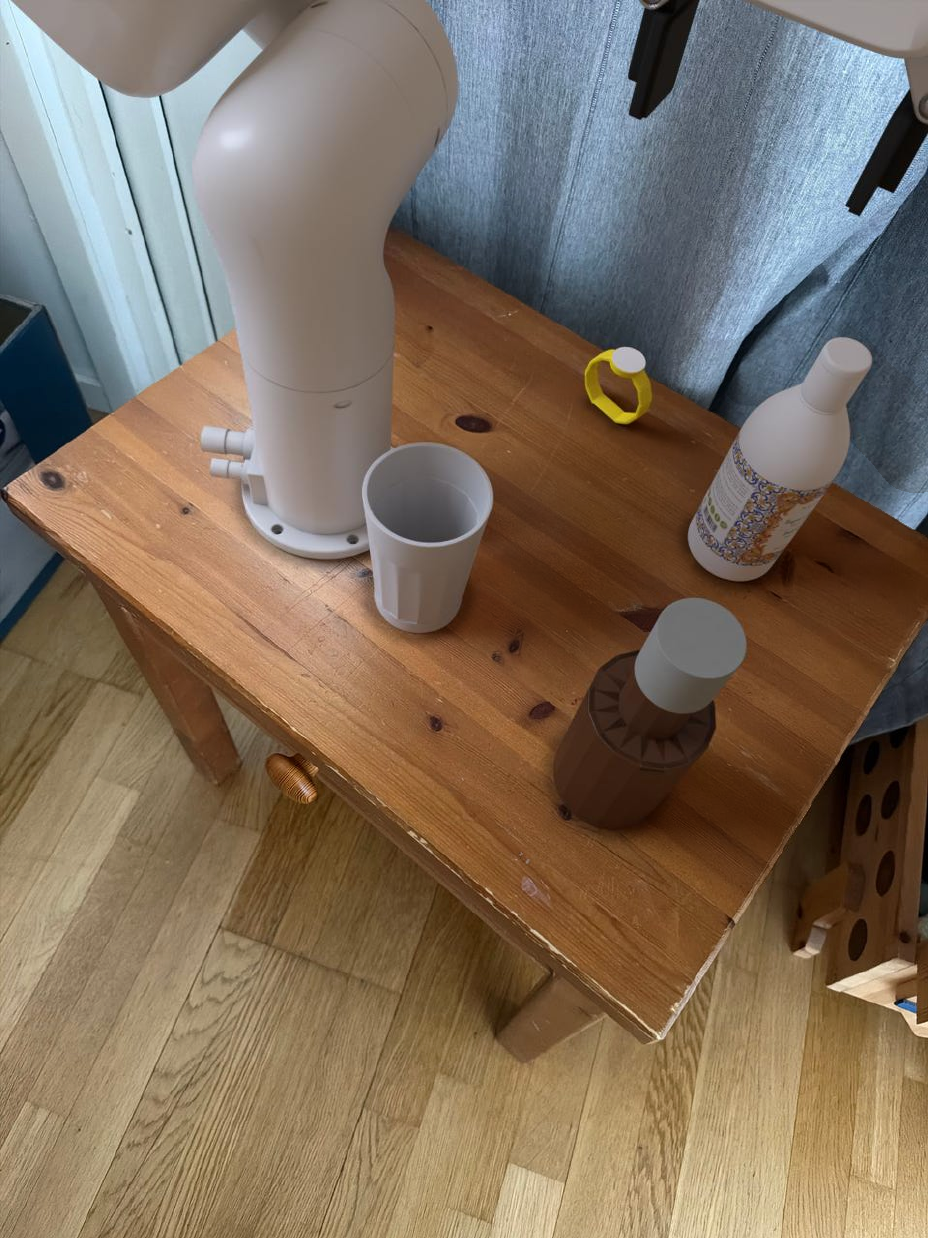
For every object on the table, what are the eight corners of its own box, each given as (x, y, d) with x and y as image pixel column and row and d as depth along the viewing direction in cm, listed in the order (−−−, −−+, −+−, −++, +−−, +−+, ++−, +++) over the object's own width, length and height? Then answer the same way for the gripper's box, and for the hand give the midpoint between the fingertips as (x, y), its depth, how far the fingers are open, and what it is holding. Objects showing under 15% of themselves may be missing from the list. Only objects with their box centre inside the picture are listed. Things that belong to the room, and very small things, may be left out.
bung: (627, 719, 46) (657, 671, 42) (627, 645, 49) (655, 591, 44) (710, 730, 47) (750, 684, 42) (706, 656, 49) (744, 603, 44)
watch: (572, 397, 76) (587, 344, 71) (593, 382, 77) (610, 328, 72) (625, 439, 74) (644, 388, 69) (646, 423, 75) (667, 371, 70)
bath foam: (726, 599, 67) (850, 414, 50) (667, 533, 70) (766, 335, 52) (791, 560, 69) (931, 371, 52) (732, 497, 72) (847, 298, 55)
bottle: (550, 822, 57) (603, 731, 44) (555, 719, 61) (605, 607, 48) (661, 835, 58) (746, 749, 45) (659, 732, 61) (737, 624, 48)
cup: (372, 542, 67) (373, 433, 56) (478, 556, 67) (498, 451, 57) (354, 635, 63) (352, 536, 52) (467, 650, 63) (487, 555, 53)
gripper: (640, -575, 22) (529, 109, 37) (1367, -373, 19) (926, 287, 34) (752, -599, 26) (609, 34, 40) (1381, -432, 22) (976, 189, 37)
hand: (753, 149), depth 37 cm, fingers open, 9 cm apart
